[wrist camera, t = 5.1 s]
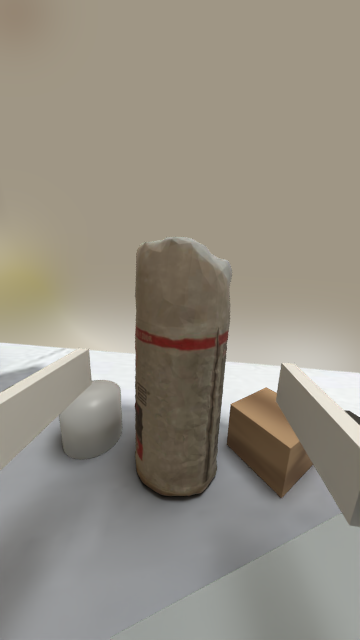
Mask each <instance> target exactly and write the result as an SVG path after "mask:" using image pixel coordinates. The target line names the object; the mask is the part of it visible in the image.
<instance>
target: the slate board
mask: <svg viewBox="0 0 360 640" xmlns="http://www.w3.org/2000/svg"><path fill="white" fill-rule="evenodd" d="M110 640H360V527H356V526H349V524H348V522H347V521H346V519H345V517H344V516H343V514H342V513H340V514H338V515H337V516H335V517H333V518H331V519H329V520H327V521H325V522H324V523H322V524H320V525H318V526H316V527H314V528H313V529H311V530H309V531H307V532H305V533H303V534H301V535H300V536H298V537H296V538H294V539H292V540H290V541H288V542H287V543H285V544H283V545H281V546H279V547H277V548H275V549H274V550H272V551H270V552H268V553H266V554H264V555H262V556H261V557H259V558H257V559H255V560H253V561H251V562H249V563H248V564H246V565H244V566H242V567H240V568H238V569H236V570H235V571H233V572H231V573H229V574H227V575H225V576H223V577H222V578H220V579H218V580H216V581H214V582H212V583H210V584H209V585H207V586H205V587H203V588H201V589H199V590H197V591H196V592H194V593H192V594H190V595H188V596H186V597H184V598H183V599H181V600H179V601H177V602H175V603H173V604H171V605H170V606H168V607H166V608H164V609H162V610H160V611H158V612H157V613H155V614H153V615H151V616H149V617H147V618H145V619H144V620H142V621H140V622H138V623H136V624H134V625H132V626H131V627H129V628H127V629H125V630H123V631H121V632H119V633H118V634H116V635H114V636H112V637H110Z"/></svg>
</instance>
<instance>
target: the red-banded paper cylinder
mask: <svg viewBox="0 0 360 640" xmlns="http://www.w3.org/2000/svg"><path fill="white" fill-rule="evenodd" d="M136 255H137V256H136V290H135V291H136V292H135V297H136V333H135V350H136V363H135V364H136V368H135V370H136V376H135V380H136V381H135V389H136V395H135V399H136V403H135V410H136V419H135V421H136V424H135V429H136V452H135V458H136V469H137V473H138V475H139V477H140V479H141V480H142V482H143V483H144V484H145V485H147V486H148V487H149V488H151V489H152V490H154V491H155V492H157V493H159V494H161V495H165V496H186V495H194V494H198V493H201V492H202V491H204V490H205V489H206V487H207V486H208V485H209V483H210V482H211V481H212V479H213V478H214V476H215V475H216V471H217V461H216V457H217V452H218V447H217V444H218V434H219V423H220V413H221V404H222V394H223V381H224V372H225V361H226V351H227V340H228V331H229V324H230V296H229V286H230V282H231V277H232V269H231V266H230V264H229V262H228V261H227V260H224V259H219V258H217V257H215V256H214V255H211V253H210V251H209V250H208V248H207V247H206V246H205V245H202V244H200V243H198V242H197V241H195V240H194V239H191V238H186V237H166V238H165V239H164V240H160V241H154V242H145V243H142V244H141V245H140V246H139V248H138V250H137V254H136Z"/></svg>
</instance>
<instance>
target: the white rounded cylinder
mask: <svg viewBox="0 0 360 640" xmlns="http://www.w3.org/2000/svg"><path fill="white" fill-rule="evenodd" d="M59 421H60V428H61V436H62V444H63V450H64V452H65V453H66V455H68V456H69V457H71V458H74V459H79V460H84V459H90V458H94V457H97V456H99V455H101V454H103V453H105V452H107V451H108V450H110V449H111V448H112V447H113V446H114V445H115V444H116V443H117V442H118V440H119V439H120V437H121V434H122V410H121V390H120V387H119V386H118V385H117V384H116V383H114V382H112V381H107V380H94V381H92V384H91V385H90V386H89V387H88V388H87V389H86V390H85V391H84V392H83V393H82V394H80V395H79V396H78V397H77V398H76V399H75V400H74V401H73V402H72V403H71V404H70V405H69V406H68V407H67V408H66V409H65V410H64V411H63V412H62V413H60V414H59Z"/></svg>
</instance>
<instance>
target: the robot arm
mask: <svg viewBox="0 0 360 640" xmlns="http://www.w3.org/2000/svg"><path fill="white" fill-rule="evenodd" d="M91 384H92V381H91V369H90V357H89V349H81V348H78V349H77V350H75V351H73V352H71V353H70V354H68V355H66V356H64V357H63V358H61V359H59V360H57V361H56V362H54V363H52V364H50V365H48V366H47V367H45V368H43V369H41V370H40V371H38V372H36V373H34V374H33V375H31V376H29V377H27V378H26V379H24V380H22V381H20V382H18V383H17V384H15V385H12V386H11V387H9V388H7V389H5V390H4V391H2V392H1V393H0V471H1V470H2V469H3V468H4V467H5V466H6V465H7V464H8V463H9V462H10V461H11V460H12V459H13V458H14V457H15V456H16V455H17V454H18V453H19V452H21V451H22V450H23V449H24V448H25V447H26V446H27V445H28V444H29V443H30V442H31V441H32V440H33V439H34V438H35V437H36V436H37V435H38V434H39V433H40V432H42V431H43V430H44V429H45V428H46V427H47V426H48V425H49V424H50V423H51V422H52V421H53V420H54V419H55V418H56V417H57V416H58V415H59V414H60V413H62V412H63V411H64V410H65V409H66V408H67V407H68V406H69V405H70V404H71V403H72V402H73V401H74V400H75V399H76V398H77V397H78V396H79V395H80V394H82V393H83V392H84V391H85V390H86V389H87V388H88V387H89V386H90V385H91ZM276 402H277V404H278V405H279V407H280V409H281V411H282V412H283V414H284V416H285V417H286V419H287V421H288V422H289V424H290V426H291V427H292V429H293V431H294V433H295V434H296V436H297V438H298V439H299V441H300V443H301V444H302V446H303V448H304V449H305V451H306V453H307V455H308V456H309V458H310V460H311V461H312V463H313V465H314V466H315V468H316V470H317V472H318V473H319V475H320V477H321V478H322V480H323V482H324V483H325V485H326V487H327V488H328V490H329V492H330V494H331V495H332V497H333V499H334V500H335V502H336V504H337V505H338V507H339V509H340V511H341V512H342V514H343V516H344V517H345V519H346V521H347V522H348V524H349V526H356V527H360V417H358V416H357V415H355V414H353V413H352V412H350V411H345V410H343V409H342V408H341V407H340V406H339V405H338V404H336V403H335V402H334V401H333V400H332V399H331V398H330V397H329V396H328V395H327V394H326V393H325V392H324V391H323V390H322V389H321V388H320V387H318V386H317V385H316V384H315V383H314V382H313V381H312V380H311V379H310V378H309V377H308V376H307V375H306V374H305V373H304V372H303V371H301V370H300V369H299V368H298V367H297V366H296V365H295V364H291V363H282V364H281V370H280V377H279V383H278V390H277V396H276Z"/></svg>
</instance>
